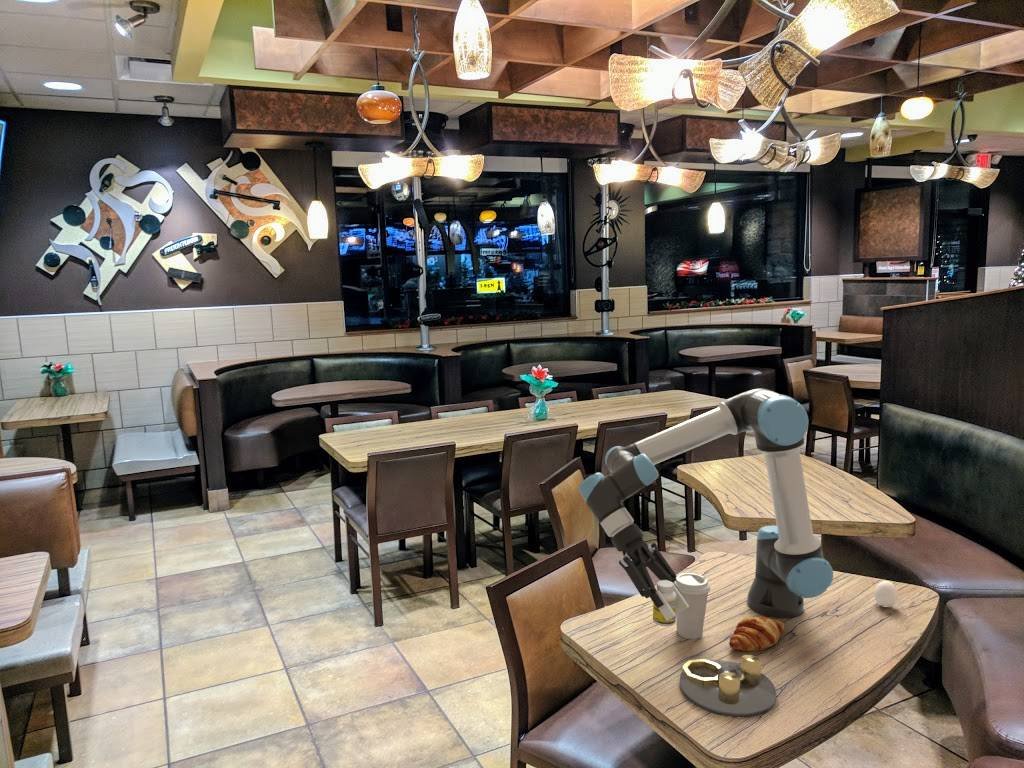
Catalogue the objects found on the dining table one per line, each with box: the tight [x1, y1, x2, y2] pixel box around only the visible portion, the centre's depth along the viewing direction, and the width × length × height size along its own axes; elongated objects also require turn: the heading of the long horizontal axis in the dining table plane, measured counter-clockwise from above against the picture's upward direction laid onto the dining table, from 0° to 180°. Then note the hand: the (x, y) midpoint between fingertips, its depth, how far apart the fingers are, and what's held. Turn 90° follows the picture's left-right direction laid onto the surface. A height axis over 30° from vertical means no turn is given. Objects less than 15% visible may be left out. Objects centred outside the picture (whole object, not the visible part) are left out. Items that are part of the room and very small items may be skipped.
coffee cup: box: [674, 572, 711, 640], centre depth 195 cm, size 10×10×15 cm
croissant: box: [728, 615, 785, 653], centre depth 192 cm, size 21×10×8 cm, turn 127°
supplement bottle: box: [652, 580, 676, 627], centre depth 179 cm, size 5×5×10 cm
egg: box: [873, 580, 899, 608], centre depth 212 cm, size 6×6×8 cm
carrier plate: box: [679, 654, 777, 718], centre depth 169 cm, size 21×21×6 cm
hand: (678, 613), depth 176 cm, fingers closed on supplement bottle, 5 cm apart
